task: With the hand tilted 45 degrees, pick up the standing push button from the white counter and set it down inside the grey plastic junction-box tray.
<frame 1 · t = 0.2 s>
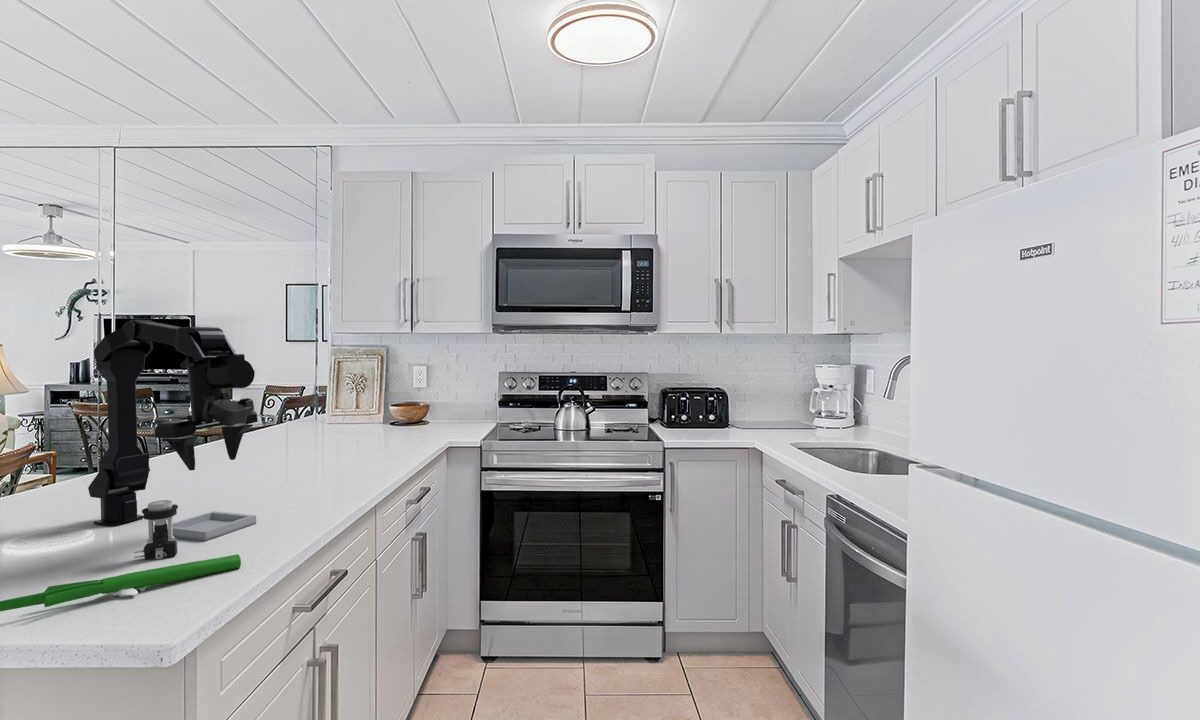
hand: (213, 464, 124), 14 cm above the worktop, tool pointing down, fingers open, 9 cm apart
push button: (156, 558, 111), on the worktop
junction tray: (209, 529, 128), on the worktop
green onion: (132, 595, 95), on the worktop
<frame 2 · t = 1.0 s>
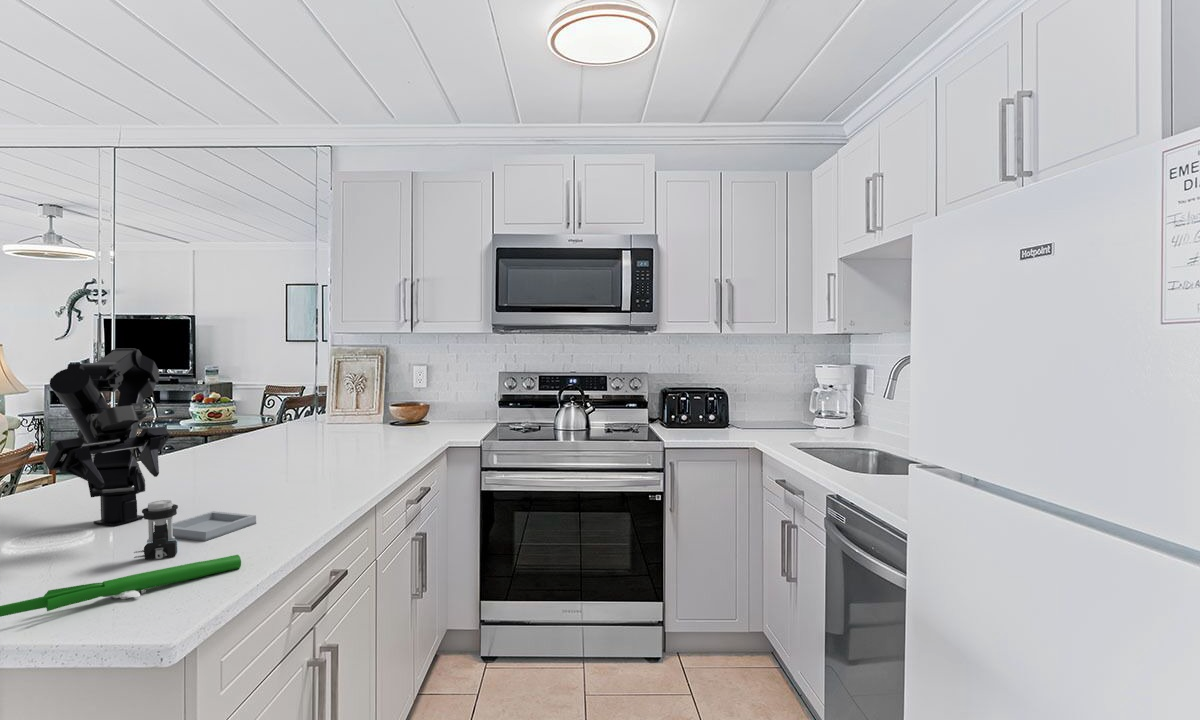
hand: (130, 480, 114), 13 cm above the worktop, tool tilted 45°, fingers open, 9 cm apart
green onion: (133, 597, 94), on the worktop
everything else where it was.
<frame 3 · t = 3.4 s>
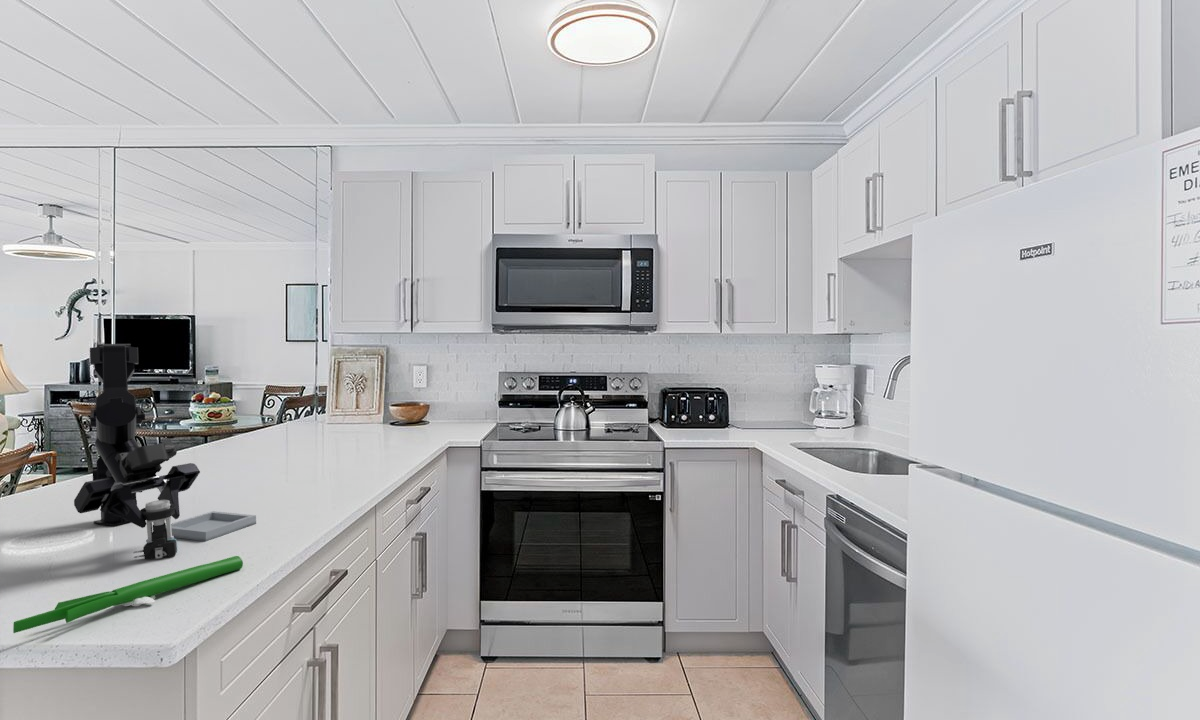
hand: (161, 521, 110), 7 cm above the worktop, tool tilted 45°, fingers closed on push button, 5 cm apart
push button: (156, 557, 111), on the worktop, touching gripper
green onion: (143, 604, 92), on the worktop
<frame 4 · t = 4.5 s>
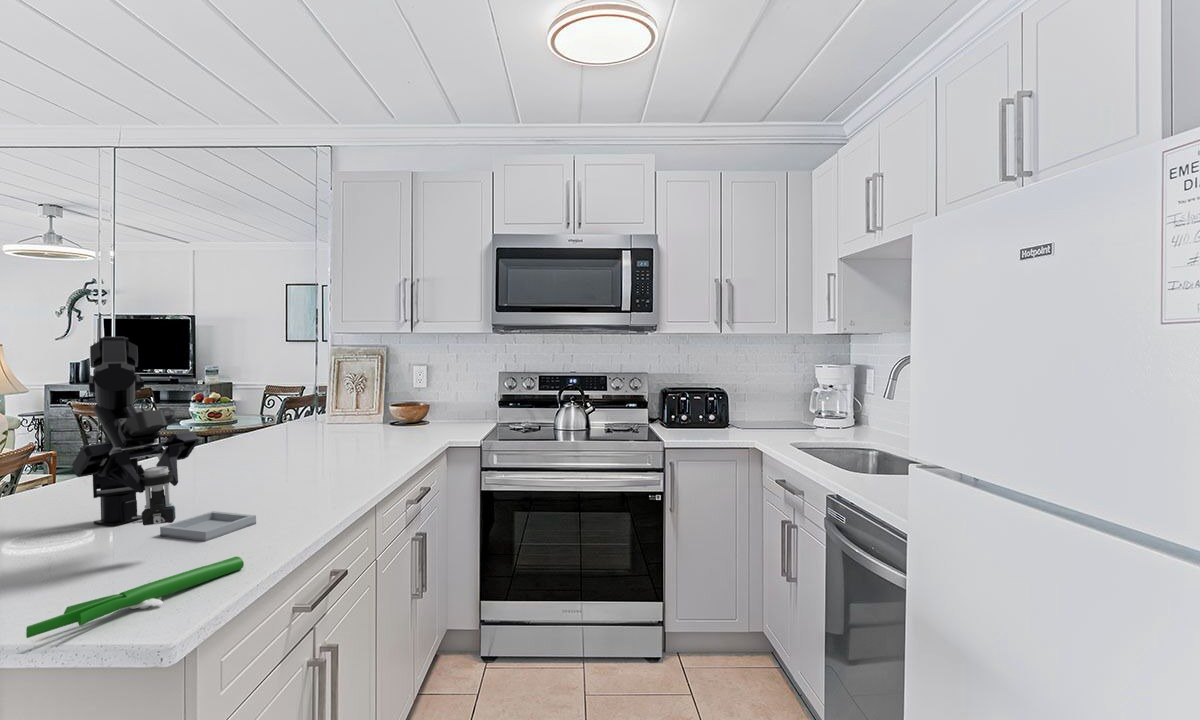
hand: (159, 487, 110), 13 cm above the worktop, tool tilted 45°, fingers closed on push button, 5 cm apart
push button: (155, 523, 111), point 6 cm above the worktop, touching gripper
green onion: (150, 606, 91), on the worktop
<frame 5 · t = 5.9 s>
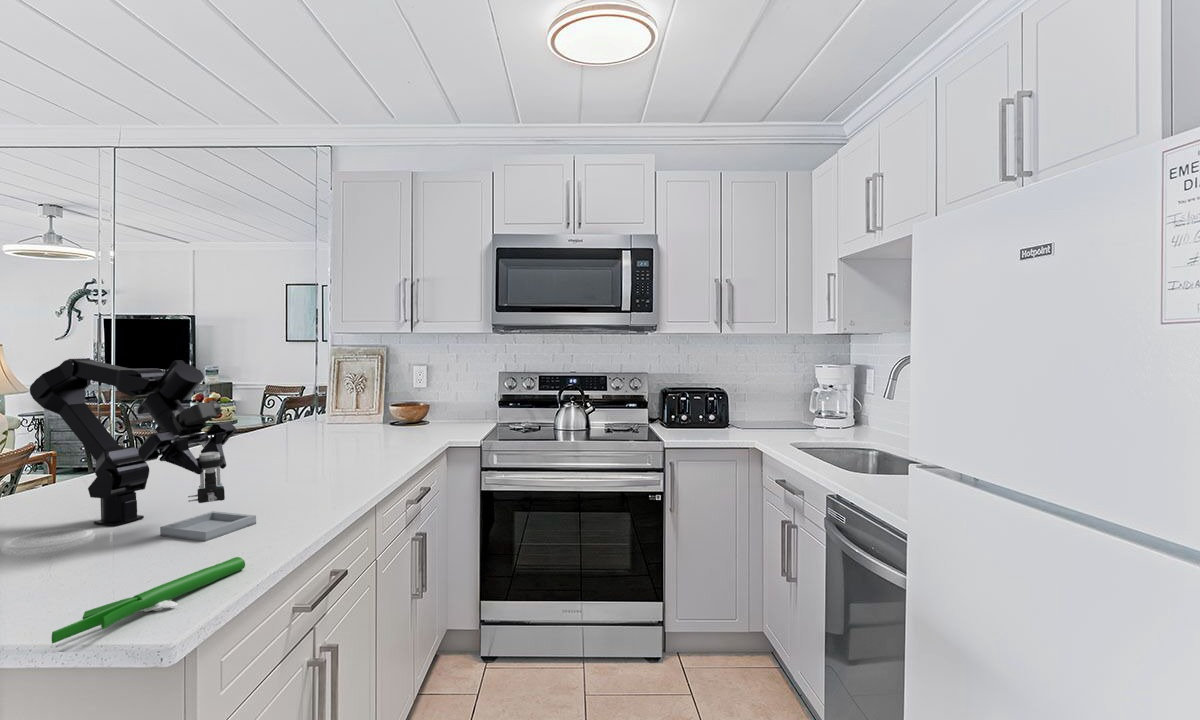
hand: (213, 470, 127), 13 cm above the worktop, tool tilted 45°, fingers closed on push button, 5 cm apart
push button: (207, 501, 127), point 6 cm above the worktop, touching gripper
green onion: (162, 609, 90), on the worktop
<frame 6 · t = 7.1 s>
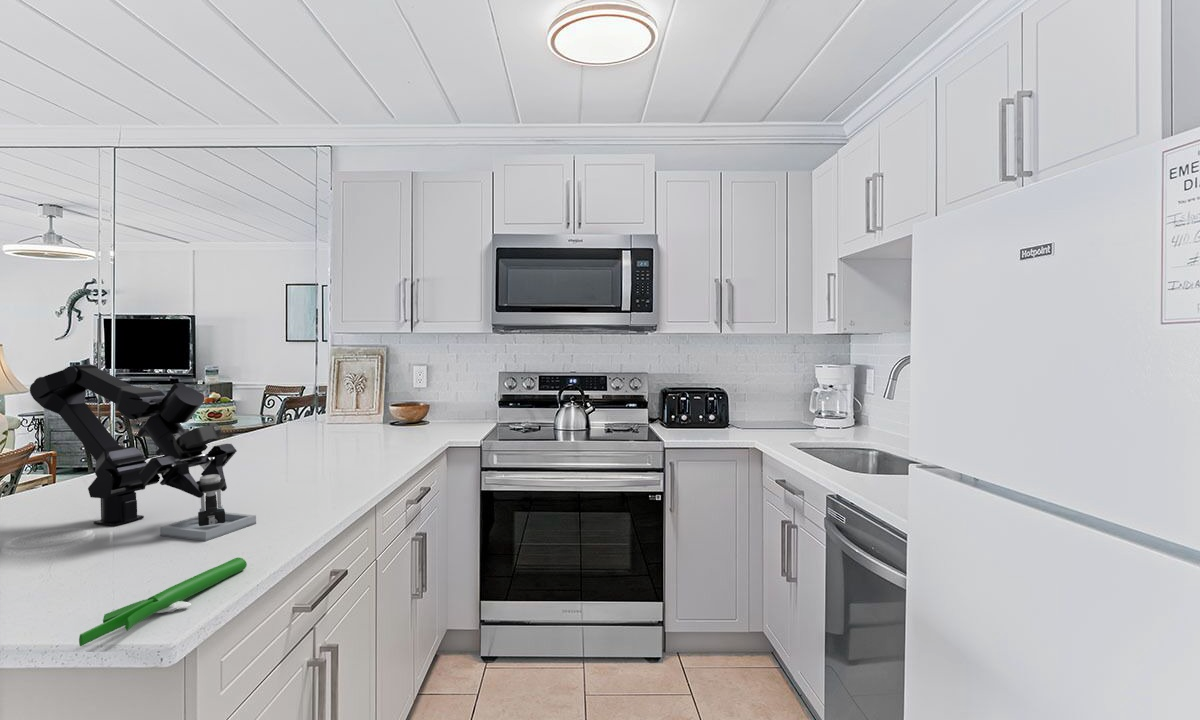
hand: (213, 493, 127), 8 cm above the worktop, tool tilted 45°, fingers closed on push button, 5 cm apart
push button: (208, 524, 128), point 1 cm above the worktop, touching gripper
green onion: (175, 610, 90), on the worktop
when the fingers open (8 cm above the worktop, at t = 7.1 s): push button stays where it is, resting on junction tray.
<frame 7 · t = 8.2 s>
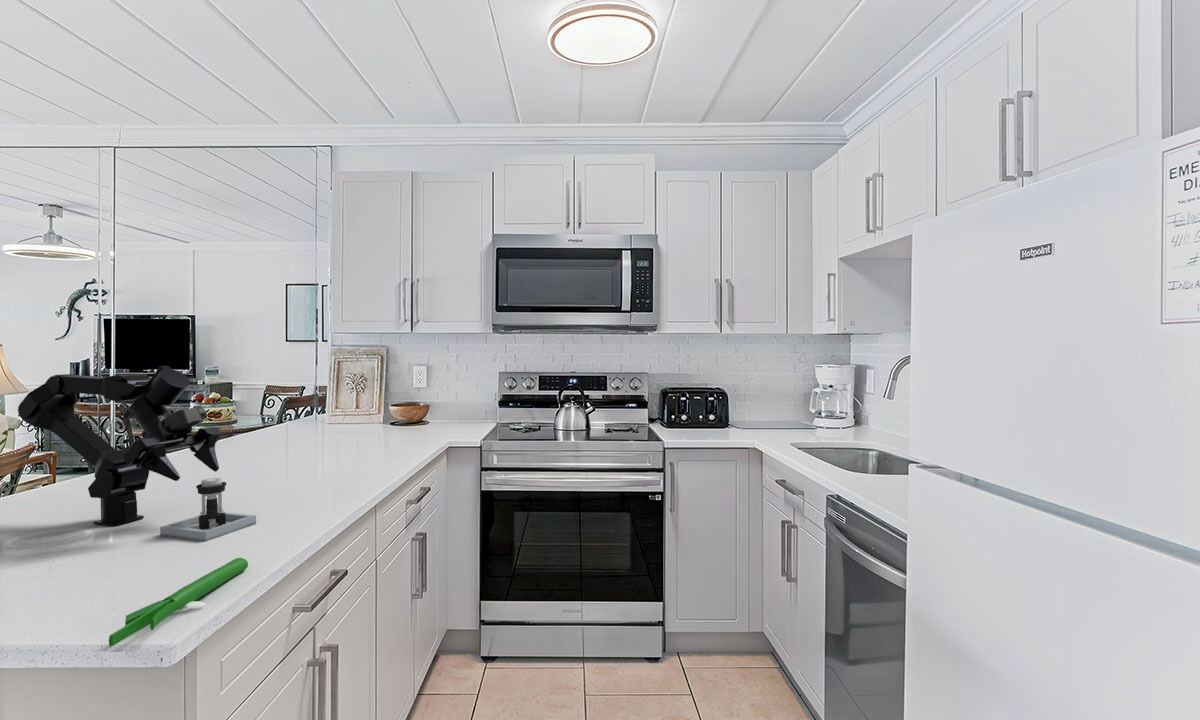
hand: (198, 474, 128), 11 cm above the worktop, tool tilted 45°, fingers open, 9 cm apart
push button: (208, 528, 128), resting on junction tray
green onion: (188, 610, 90), on the worktop
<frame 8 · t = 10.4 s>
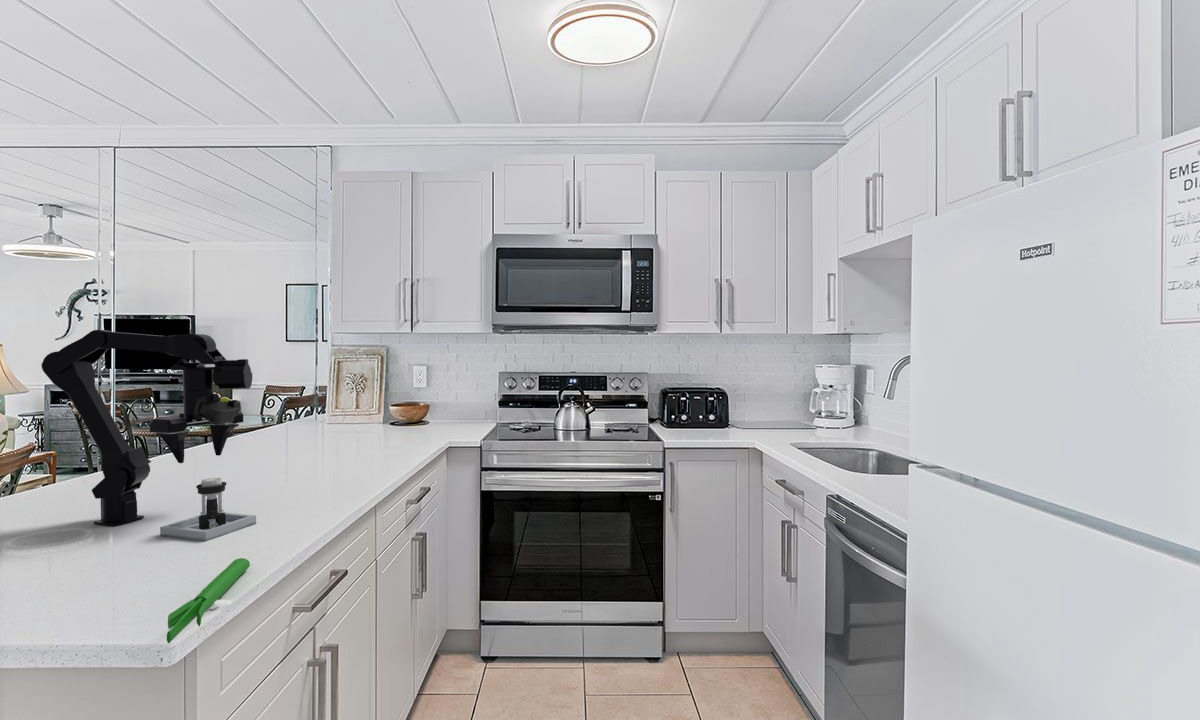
hand: (200, 459, 137), 13 cm above the worktop, tool pointing down, fingers open, 9 cm apart
green onion: (213, 609, 90), on the worktop
everything else where it was.
at the end: push button inside the target area on the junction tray (0.2 cm from its centre), point 0.2 cm above the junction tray's base; push button tilted 0°; the gripper is holding nothing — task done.
